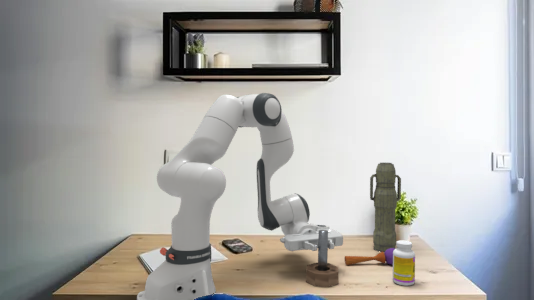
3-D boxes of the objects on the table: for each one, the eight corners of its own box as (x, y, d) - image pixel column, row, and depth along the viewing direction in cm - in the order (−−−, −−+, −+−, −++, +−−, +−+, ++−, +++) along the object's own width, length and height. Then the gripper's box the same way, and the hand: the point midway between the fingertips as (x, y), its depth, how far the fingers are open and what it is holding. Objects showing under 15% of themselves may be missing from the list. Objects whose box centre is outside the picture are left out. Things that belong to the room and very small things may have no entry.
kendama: (343, 251, 141) (396, 246, 142) (344, 267, 141) (399, 263, 141) (346, 253, 135) (402, 248, 136) (348, 270, 135) (404, 265, 135)
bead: (321, 289, 116) (321, 276, 116) (300, 279, 125) (300, 266, 124) (344, 281, 122) (344, 269, 122) (322, 272, 130) (322, 260, 130)
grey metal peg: (322, 282, 121) (323, 232, 121) (315, 279, 124) (316, 230, 123) (328, 280, 123) (330, 231, 123) (322, 277, 126) (323, 229, 125)
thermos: (403, 252, 151) (404, 163, 150) (373, 252, 151) (374, 164, 149) (395, 245, 160) (396, 162, 158) (367, 246, 160) (368, 162, 158)
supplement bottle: (416, 287, 118) (417, 246, 117) (393, 285, 119) (394, 244, 119) (412, 279, 125) (413, 239, 124) (391, 277, 126) (391, 238, 125)
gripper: (278, 229, 132) (293, 240, 119) (331, 225, 138) (351, 234, 125) (278, 247, 132) (293, 260, 119) (331, 242, 138) (351, 254, 125)
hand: (323, 247), depth 122 cm, fingers open, 5 cm apart
